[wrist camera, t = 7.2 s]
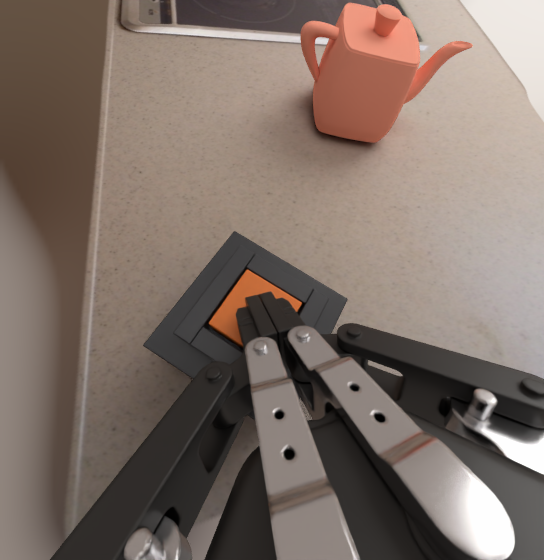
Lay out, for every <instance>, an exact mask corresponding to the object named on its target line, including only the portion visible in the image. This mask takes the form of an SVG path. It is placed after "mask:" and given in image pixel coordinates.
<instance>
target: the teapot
mask: <svg viewBox="0 0 544 560" xmlns="http://www.w3.org/2000/svg"><path fill="white" fill-rule="evenodd" d="M317 37H326V38H330V39H329V41H328V43H327V46H326V48H325V51H324V53H323V56H322V59H321V62H320V65H319V67H318V64H317V60H316V54H315V39H316V38H317ZM472 46H473V45H472V44H471V43H468V42H463V41H455V42H451V43H448V44H446V45H445V46H443V47H442V48H441V49H439V50H438V51H437V52H436V53H435V54H434V55H433V56H432V57H431V58H430V59H429V60H428V61H427V62H426V63H425V64H424V65H423V66H422V67H420V68H419V69H418V66H419V63H420V49H419V42H418V38H417V34H416V31H415V29H414V26H413V24H412V22H411V21H410V20H409V18H407V17H405V16H402V14H401V12H400V11H399V10H398V9H397V8H395V7H394V6H391V5H387V4H384V5H379V6H378V8H377V9H376V8H372V7H368V6H364V5H359V4H354V3H348V4H347V5H345V7H344V9H343V11H342V13H341V15H340V17H339V19H338V21H337V23H336V25H335V26H333V25H330V24H327V23H324V22H319V21H310V22H307V23H306V24H304V26H303V27H302V30H301V47H302V51H303V55H304V57H305V60H306V62H307V65H308V67H309V69H310V72H311V74H312V76H313V78H314V80H315V82H314V89H313V110H314V119H315V124H316V127H317V129H318V130H319V131H320V132H323V133H326V134H330V135H334V136H338V137H343V138H347V139H353V140H358V141H364V142H372V143H376V142H378V141H379V140H380V139H381V138H383V137H384V136H385V135H386V134H387V133H388V132H389V130H390V129H391V127H392V125H393V124H394V122H395V120H396V118H397V116H398V114H399V112H400V110H401V108H402V106H403V104H405V103H407V102H408V101H410V100H411V99H413V98H414V97H415V96H416V95H417V94H418V93H419V92H420V91H421V90H422V89H423V88H424V87H425V85H426V84H427V83H428V82H429V80H430V79H431V78H432V76H433V75H434V74H435V73H436V71H437V70H438V69H439V68H440V67H441V66H442V65H443V64H444V63H445V62H446V61H447V60H448V59H449V58H451V57H452V56H454V55H455V54H457V53H459V52H462V51H464V50H466V49H469V48H471V47H472ZM417 69H418V70H417Z"/></svg>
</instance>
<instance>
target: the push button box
mask: <svg viewBox="0 0 544 560" xmlns="http://www.w3.org/2000/svg"><path fill="white" fill-rule="evenodd" d="M246 270H249V271H251V272H253V273H254V274H256V275H258V276H259V277H261V278H262V279H264V280H266V281H267V282H269V283H271V284H272V285H274V286H275V287H277V288H279V289H280V290H282V291H284V292H285V293H287V294H289V295H290V296H292V297H293V298H295V299H297V300H298V301H300V302H301V303H302V304H301V306H300V308H299V309H298V311H297V313H298V315H299V316H300V318H301V319H302V320H303V322H304V323H305V325H306V326H309V327H312V328H314V329H315V330H316V331H317V332H318V333H319V334H331V333H332V331H333V329H334V327H335V325H336V322H337V320H338V318H339V316H340V314H341V312H342V310H343V308H344V306H345V304H346V302H347V298H345V297H343V296H342V295H340V294H338V293H337V292H335V291H333V290H332V289H330V288H329V287H327V286H325V285H324V284H322V283H320V282H319V281H317V280H315V279H314V278H312V277H310V276H309V275H307V274H305V273H304V272H302V271H300V270H299V269H297V268H295V267H294V266H292V265H290V264H289V263H287V262H285V261H284V260H282V259H280V258H279V257H277V256H275V255H274V254H272V253H270V252H269V251H267V250H265V249H264V248H262V247H260V246H259V245H257V244H255V243H254V242H252V241H250V240H249V239H247V238H245V237H244V236H242V235H240V234H239V233H237V232H235V231H234V232H233V233H232V235H231V236H230V237H229V238H228V240H227V241H226V242H225V243H224V245H223V246H222V247H221V248H220V250H219V251H218V252H217V253H216V255H215V256H214V257H213V258H212V260H211V261H210V262H209V263H208V265H207V266H206V267H205V268H204V270H203V271H202V272H201V273H200V275H199V276H198V277H197V278H196V280H195V281H194V282H193V283H192V285H191V286H190V287H189V288H188V290H187V291H186V292H185V293H184V295H183V296H182V297H181V298H180V300H179V301H178V302H177V303H176V305H175V306H174V307H173V308H172V310H171V311H170V312H169V313H168V315H167V316H166V317H165V318H164V320H163V321H162V322H161V323H160V325H159V326H158V327H157V328H156V330H155V331H154V332H153V333H152V335H151V336H150V337H149V338H148V340H147V341H146V342H145V343H144V345H143V346H144V347H146V348H147V349H149V350H150V351H152V352H153V353H155V354H156V355H158V356H159V357H161V358H162V359H164V360H165V361H167V362H169V363H170V364H172V365H173V366H175V367H176V368H178V369H179V370H181V371H182V372H184V373H185V374H187V375H188V376H190V377H191V378H193V379H194V377H195V376H196V375H197V374H198V372H199V371H200V370H201V369H202V368H203V367H204V366H206V365H208V364H210V363H212V362H216V361H223V362H226V363H228V364H231V363H233V362H234V361H236V360H237V359H238V358H239V357H240V356H241V355H242V354H243V352H244V349H242V348H240V347H239V346H237V345H236V344H234V343H233V342H231V341H230V340H228V339H226V338H225V337H223V336H222V335H220V334H219V333H217V332H216V331H214V330H213V329H212V327H211V326H210V325H209V322H210V320H211V319H212V317H213V316H214V315H215V313H216V312H217V310H218V309H219V308H220V306H221V305H222V303H223V302H224V301H225V299H226V298H227V296H228V295H229V294H230V292H231V291H232V289H233V288H234V287H235V285H236V284H237V282H238V281H239V280H240V278H241V277H242V275H243V274H244V273H245V271H246ZM286 372H287V375H288V377H291V372H290V370H289V369H286ZM296 392H297V390H296ZM297 395H298V398H299V399H300V396H299V394H298V392H297ZM247 415H248V416H250V417H251V418H253V419H254V420H255V415H254V410H253V411H251V412H250V413H249V414H247Z"/></svg>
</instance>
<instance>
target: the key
mask: <svg viewBox="0 0 544 560" xmlns="http://www.w3.org/2000/svg"><path fill="white" fill-rule="evenodd" d="M270 291H271V292H272V293H273V295H274V296H275V298H276V299H278V298H284V299H286V300H288V301H289V302H290V304H291V305H292V307H293V308H294V309H295V311H296V312H297V311H298V309H299V308H300V306H301V304H302V303H301V302H300V301H298V300H297V299H295V298H293V297H292V296H290V295H289V294H287V293H285V292H284V291H282V290H280V289H279V288H277V287H275V286H274V285H272V284H271V283H269V282H267V281H266V280H264V279H262V278H261V277H259V276H258V275H256V274H254V273H253V272H251V271H249V270H246V271H245V273H244V274H243V275H242V277H241V278H240V280H239V281H238V282H237V284H236V285H235V287H234V288H233V289H232V291H231V292H230V294H229V295H228V296H227V298H226V299H225V301H224V302H223V303H222V305H221V306H220V308H219V309H218V310H217V312H216V313H215V315H214V316H213V317H212V319H211V320H210V322H209V325H210V326H211V327H212V329H213V330H214V331H216V332H217V333H219V334H220V335H222V336H223V337H225V338H226V339H228V340H230V341H231V342H233V343H234V344H236V345H237V346H239V347H240V348H242V349H244V348H243V345H242V341H241V338H240V333H239V329H238V324H237V319H236V312H237V309H238V308H242V307H246V302H245V297H249V296H253V295H258V294H262V293H266V292H270Z"/></svg>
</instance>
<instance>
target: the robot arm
mask: <svg viewBox="0 0 544 560" xmlns="http://www.w3.org/2000/svg"><path fill="white" fill-rule="evenodd" d="M245 302H246V307H242V308H238V309H237V312H236V319H237V324H238V329H239V333H240V338H241V341H242V345H243V348H244V352H243V354H242V355H241V356H240V357H239V358H238V359H237V360H236V361H234V362H233V363H231V364H228V363H226V362H223V361H216V362H212V363H210V364H208V365H206V366H204V367H203V368H202V369H201V370H200V371H199V372H198V374H197V375H196V376H195V377H194V379H193V380H192V381H191V383H190V384H189V385H188V386H187V388H186V389H185V390H184V391H183V393H182V394H181V395H180V396H179V398H178V399H177V400H176V401H175V403H174V404H173V405H172V406H171V408H170V409H169V410H168V412H167V413H166V414H165V415H164V417H163V418H162V419H161V420H160V422H159V423H158V424H157V425H156V427H155V428H154V429H153V430H152V432H151V433H150V434H149V435H148V437H147V438H146V439H145V441H144V442H143V443H142V444H141V446H140V447H139V448H138V449H137V451H136V452H135V453H134V454H133V456H132V457H131V458H130V459H129V461H128V462H127V463H126V464H125V466H124V467H123V468H122V470H121V471H120V472H119V473H118V475H117V476H116V477H115V478H114V480H113V481H112V482H111V483H110V485H109V486H108V487H107V488H106V490H105V491H104V492H103V493H102V495H101V496H100V497H99V499H98V500H97V501H96V502H95V504H94V505H93V506H92V507H91V509H90V510H89V511H88V512H87V514H86V515H85V516H84V517H83V519H82V520H81V521H80V522H79V524H78V525H77V526H76V528H75V529H74V530H73V531H72V533H71V534H70V535H69V536H68V538H67V539H66V540H65V541H64V543H63V544H62V545H61V546H60V548H59V549H58V550H57V552H56V553H55V554H54V555H53V557H52V558H51V559H50V560H192V553H191V548H190V545H189V542H188V540H187V539H186V538H187V536H188V534H189V532H190V530H191V528H192V526H193V524H194V522H195V520H196V518H197V516H198V514H199V512H200V510H201V508H202V505H203V503H204V501H205V499H206V497H207V495H208V493H209V491H210V489H211V487H212V485H213V483H214V481H215V479H216V477H217V475H218V473H219V471H220V468H221V466H222V464H223V462H224V460H225V458H226V456H227V454H228V452H229V450H230V448H231V446H232V444H233V442H234V440H235V438H236V436H237V434H238V431H239V429H240V427H241V425H242V423H243V419H244V417H245V416H246V415H247V414H249V413H250V412H251V411H253V410H254V415H255V421H256V427H257V433H258V440H259V446H258V447H257V448H256V449H255V450H254V451H253V452H252V453H251V454H250V456H249V457H248V458H247V460H246V461H245V463H244V464H243V466H242V468H241V470H240V471H239V473H238V476H237V478H236V480H235V483H234V486H233V488H232V491H231V493H230V496H229V498H228V501H227V503H226V506H225V509H224V511H223V514H222V516H221V519H220V521H219V524H218V526H217V529H216V532H215V534H214V537H213V539H212V542H211V544H210V547H209V550H208V552H207V555H206V557H205V560H544V379H542V378H540V377H538V376H535V375H532V374H529V373H526V372H522V371H519V370H515V369H512V368H509V367H505V366H502V365H498V364H495V363H491V362H488V361H484V360H481V359H477V358H474V357H470V356H467V355H463V354H460V353H456V352H453V351H449V350H446V349H442V348H439V347H435V346H432V345H428V344H425V343H421V342H418V341H415V340H411V339H408V338H404V337H401V336H397V335H394V334H390V333H387V332H383V331H380V330H376V329H373V328H369V327H366V326H362V325H359V324H353V323H349V324H344V325H342V326H340V327H339V328H338V330H337V334H319V333H318V332H317V331H316V330H315V329H314V328H312V327H309V326H306V325H305V323H304V322H303V320H302V319H301V318H300V316H299V315H298V313H297V312H296V311H295V309H294V308H293V307H292V305H291V304H290V302H289V301H288V300H286V299H284V298H278V299H276V298H275V296H274V295H273V293H272V292H271V291H270V292H266V293H262V294H258V295H253V296H249V297H245ZM368 360H370V361H373V362H376V363H378V364H381V365H384V366H387V367H389V368H392V369H395V370H397V371H399V372H400V373H401V374H402V375H403V376H396V375H394V374H391V373H388V372H385V371H383V370H380V369H377V368H375V367H372V366H369V365H368ZM286 369H289V370H290V372H291V377H288V375H287V372H286ZM296 390H297V392H298V394H299V396H300V397H301V399H302V401H303V403H304V405H305V406H306V408H307V410H308V412H309V413H310V415H311V417H312V420H308V421H307V420H306V417H305V414H304V411H303V409H302V406H301V403H300V400H299V398H298V395H297V392H296Z"/></svg>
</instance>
